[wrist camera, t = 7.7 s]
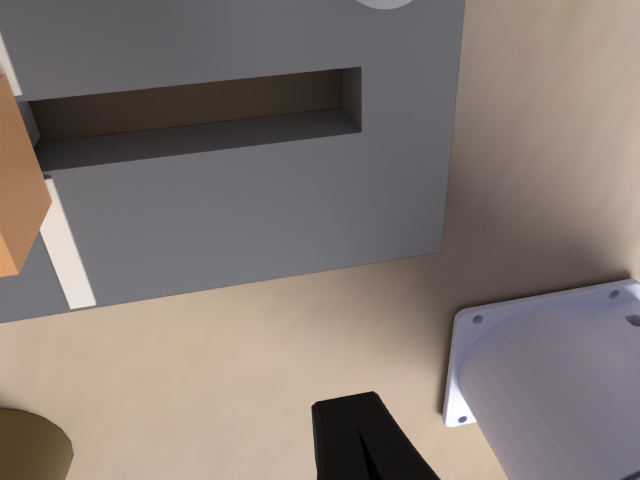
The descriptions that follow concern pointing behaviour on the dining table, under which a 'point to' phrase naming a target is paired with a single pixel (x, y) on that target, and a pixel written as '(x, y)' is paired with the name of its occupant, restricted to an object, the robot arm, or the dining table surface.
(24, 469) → the olive tapered knobbed piece
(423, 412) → the dining table surface
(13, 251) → the fader tab
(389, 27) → the console board
